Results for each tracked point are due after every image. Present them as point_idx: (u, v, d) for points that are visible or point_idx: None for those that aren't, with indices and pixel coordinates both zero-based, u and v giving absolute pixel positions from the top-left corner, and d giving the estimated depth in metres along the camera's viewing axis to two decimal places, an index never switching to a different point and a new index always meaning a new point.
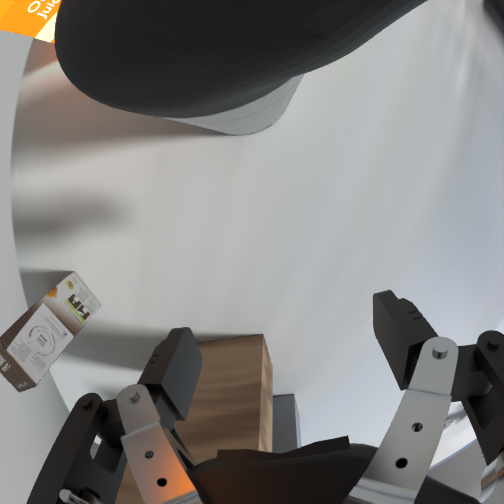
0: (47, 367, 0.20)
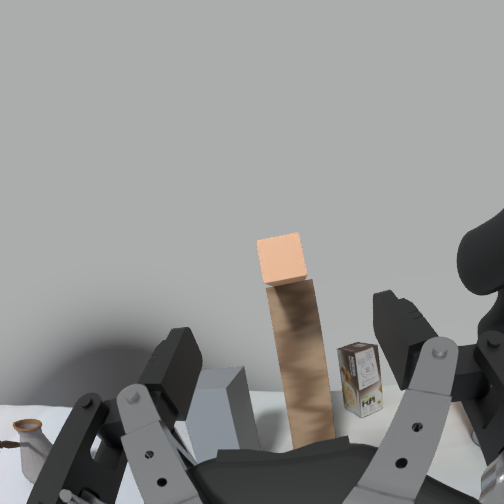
0: (357, 364, 0.50)
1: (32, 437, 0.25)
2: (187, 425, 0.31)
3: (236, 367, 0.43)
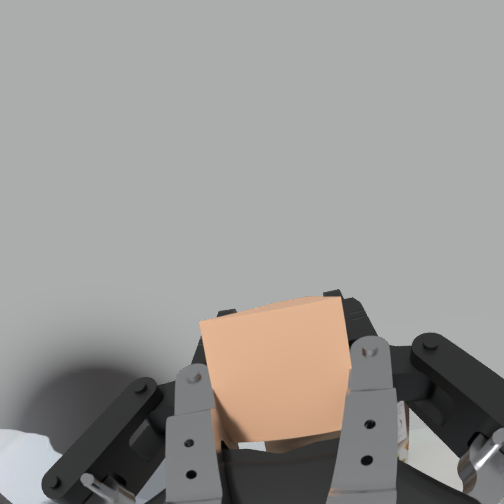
0: None
1: None
2: None
3: None
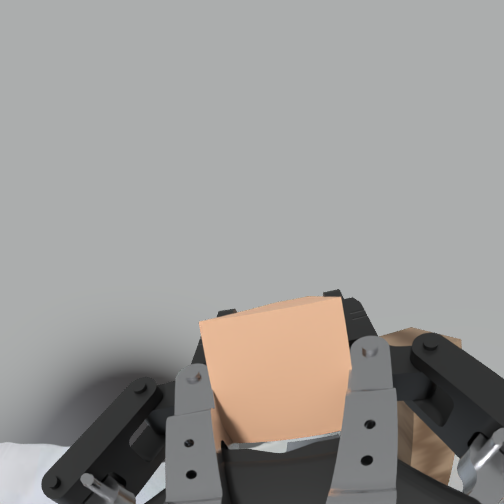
0: None
1: None
2: None
3: (330, 438, 0.28)
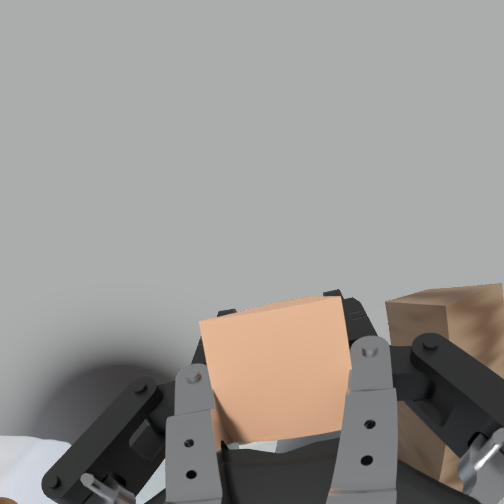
0: None
1: None
2: None
3: None
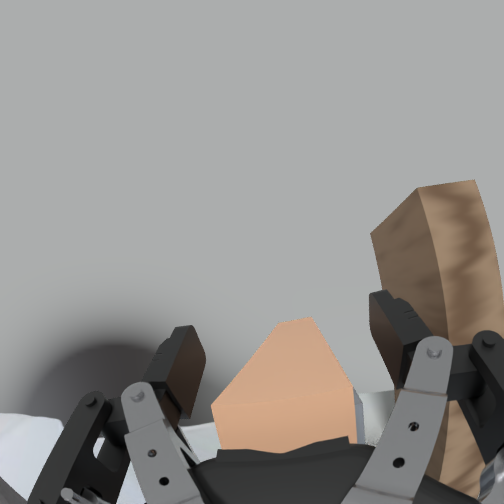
0: None
1: None
2: None
3: None
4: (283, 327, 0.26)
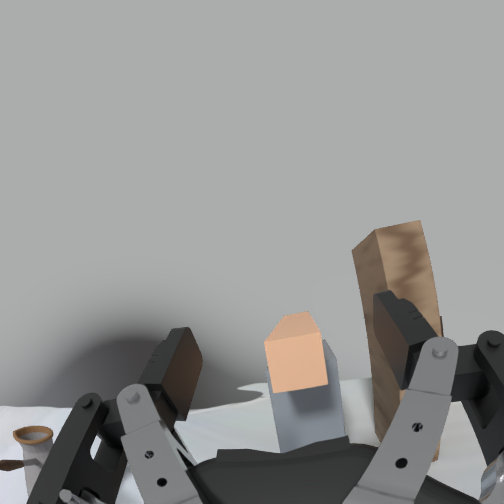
0: None
1: (41, 451, 0.17)
2: (276, 419, 0.24)
3: None
4: (288, 317, 0.37)
